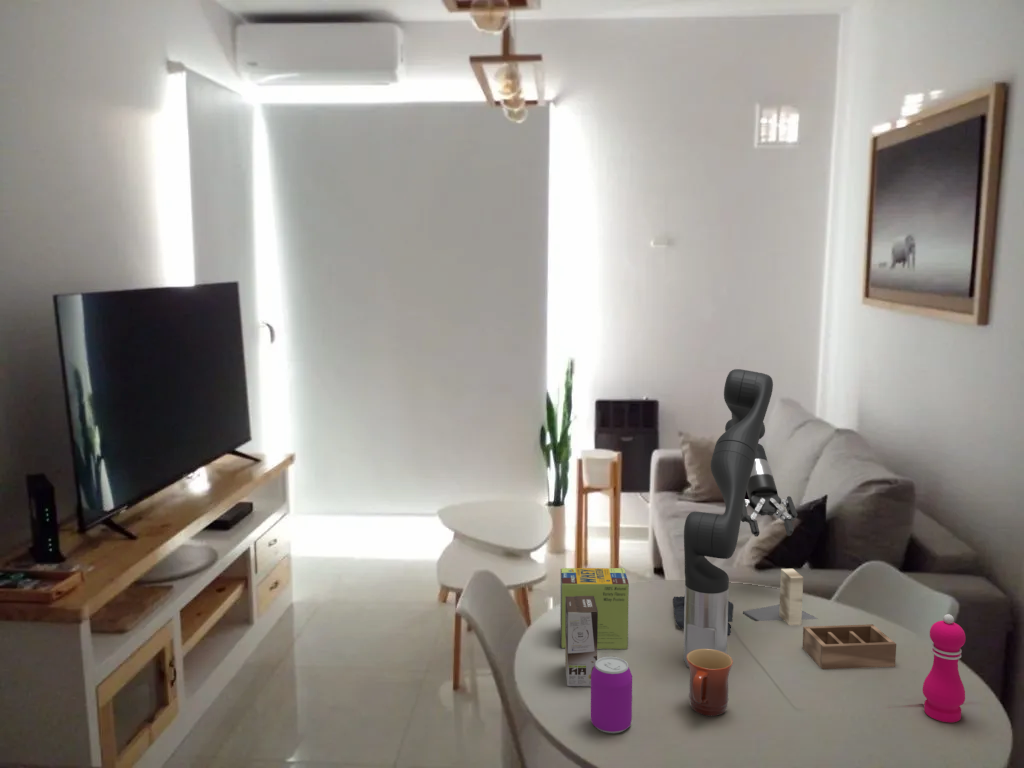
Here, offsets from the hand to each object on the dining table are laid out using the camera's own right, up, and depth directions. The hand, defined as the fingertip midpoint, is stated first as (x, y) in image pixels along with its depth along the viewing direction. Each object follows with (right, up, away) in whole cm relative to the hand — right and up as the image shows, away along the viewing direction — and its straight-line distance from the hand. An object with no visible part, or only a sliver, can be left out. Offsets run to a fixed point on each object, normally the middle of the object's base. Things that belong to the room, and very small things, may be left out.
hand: (773, 534), depth 206 cm
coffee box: (-52, -24, -35) cm, 67 cm away
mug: (-29, -25, -50) cm, 63 cm away
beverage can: (-48, -26, -54) cm, 76 cm away
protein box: (-48, -21, -17) cm, 55 cm away
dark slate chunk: (-19, -20, -4) cm, 28 cm away
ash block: (+1, -19, -9) cm, 21 cm away
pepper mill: (+16, -25, -51) cm, 59 cm away
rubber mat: (+1, -20, -9) cm, 22 cm away
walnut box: (+7, -22, -29) cm, 37 cm away
